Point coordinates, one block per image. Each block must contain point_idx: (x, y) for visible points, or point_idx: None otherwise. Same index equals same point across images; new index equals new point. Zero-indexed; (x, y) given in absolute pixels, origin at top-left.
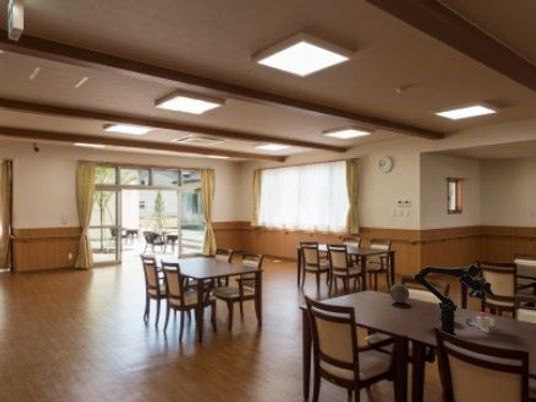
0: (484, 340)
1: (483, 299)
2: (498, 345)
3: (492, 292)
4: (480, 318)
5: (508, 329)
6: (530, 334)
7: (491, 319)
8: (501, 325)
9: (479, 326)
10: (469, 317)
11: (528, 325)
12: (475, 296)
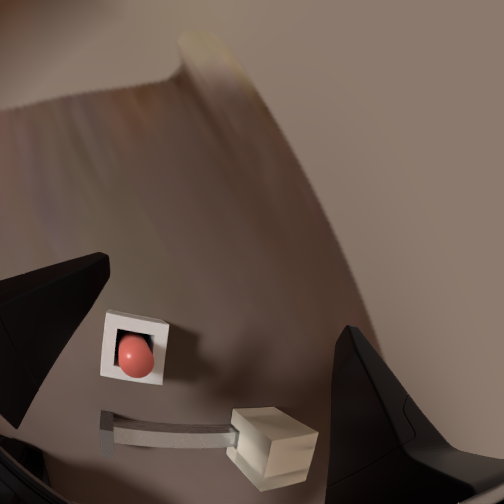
0: (309, 497)
1: (88, 306)
2: None
3: (400, 391)
4: (142, 381)
5: (275, 299)
6: (350, 275)
7: (311, 456)
8: (212, 259)
9: (204, 444)
10: (100, 435)
11: (274, 136)
12: (18, 417)
